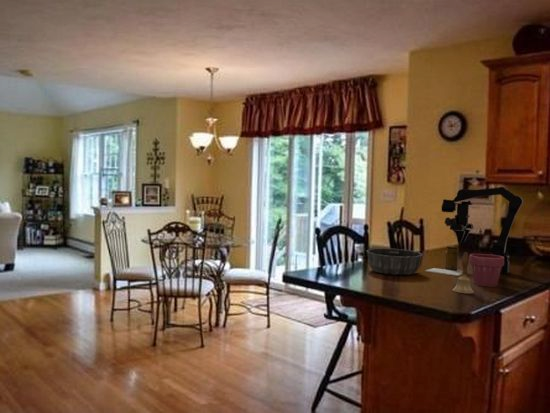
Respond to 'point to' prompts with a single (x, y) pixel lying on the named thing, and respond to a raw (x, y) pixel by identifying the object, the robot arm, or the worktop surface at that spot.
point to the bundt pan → (394, 261)
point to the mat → (444, 272)
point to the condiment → (451, 258)
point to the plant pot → (486, 268)
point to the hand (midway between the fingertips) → (461, 243)
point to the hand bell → (464, 278)
